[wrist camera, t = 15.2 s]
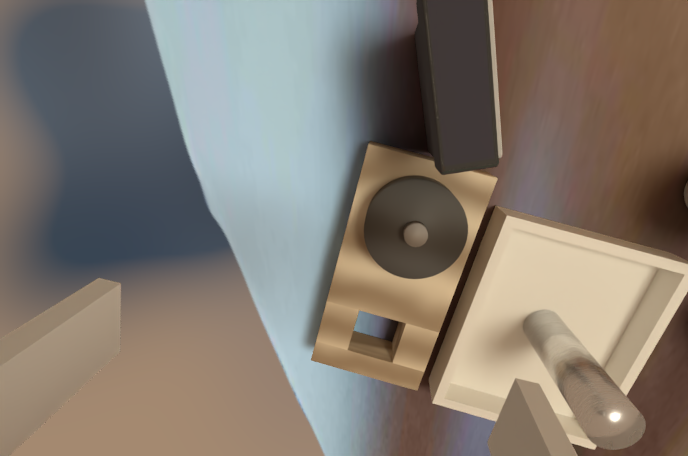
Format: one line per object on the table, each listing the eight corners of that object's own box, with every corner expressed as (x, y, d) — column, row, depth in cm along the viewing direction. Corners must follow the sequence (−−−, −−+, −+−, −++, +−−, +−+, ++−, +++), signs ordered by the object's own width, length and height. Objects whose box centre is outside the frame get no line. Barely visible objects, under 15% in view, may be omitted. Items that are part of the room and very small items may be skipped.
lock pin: (531, 305, 41) (600, 398, 27) (568, 315, 41) (655, 414, 27) (517, 336, 42) (576, 440, 29) (553, 346, 42) (629, 455, 29)
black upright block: (465, 146, 38) (513, 165, 24) (421, 153, 39) (441, 176, 24) (454, 24, 35) (500, -37, 21) (407, 34, 36) (420, -18, 21)
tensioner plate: (370, 140, 39) (366, 147, 31) (486, 171, 38) (511, 186, 31) (317, 339, 46) (302, 386, 38) (414, 367, 46) (420, 419, 38)
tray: (495, 205, 39) (507, 215, 35) (670, 252, 39) (701, 267, 35) (428, 379, 46) (432, 403, 42) (577, 421, 45) (594, 449, 42)
